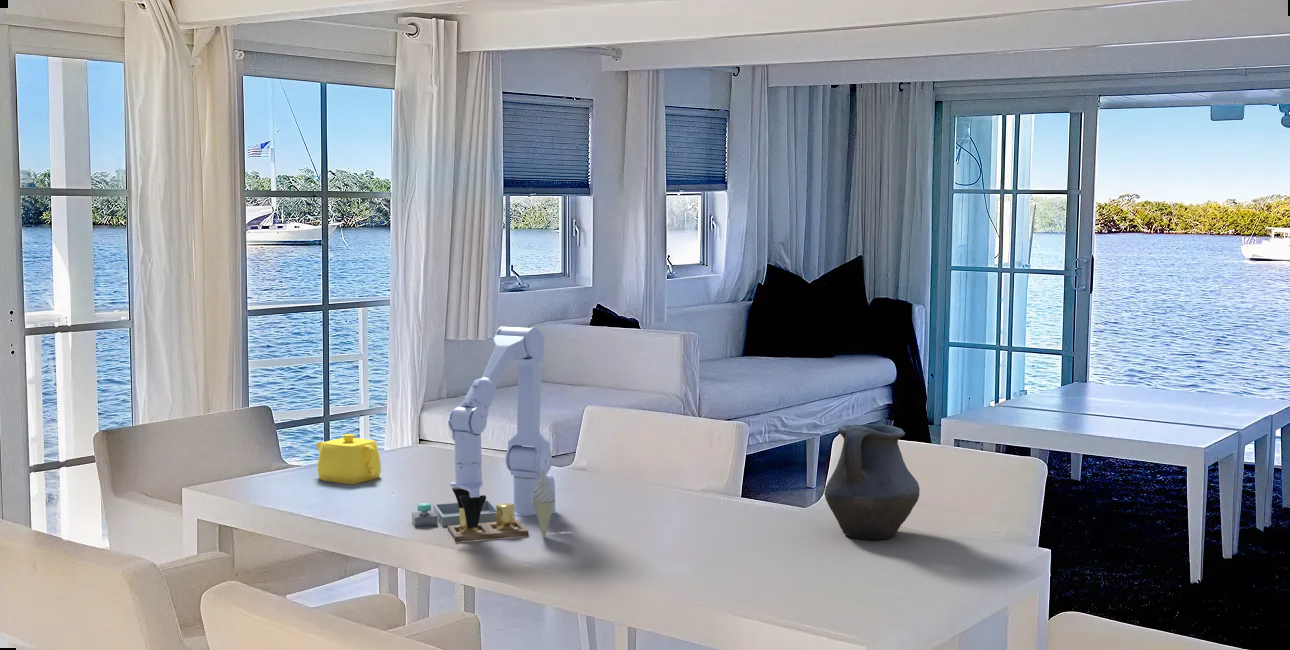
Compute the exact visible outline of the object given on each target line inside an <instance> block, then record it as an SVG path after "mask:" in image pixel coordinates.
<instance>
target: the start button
mask: <svg viewBox="0 0 1290 650" xmlns="http://www.w3.org/2000/svg"><path fill="white" fill-rule="evenodd" d="M417 511H418V512H422V516H423V515H427V511H432V504H431V503H428V502H427V503H426V502H423V503H418V504H417Z"/></svg>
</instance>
